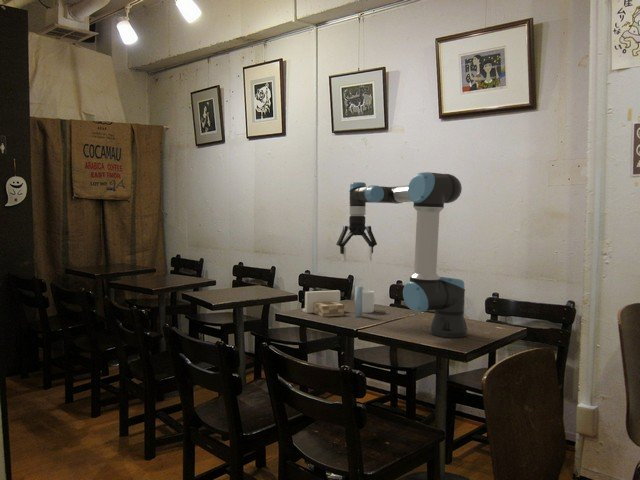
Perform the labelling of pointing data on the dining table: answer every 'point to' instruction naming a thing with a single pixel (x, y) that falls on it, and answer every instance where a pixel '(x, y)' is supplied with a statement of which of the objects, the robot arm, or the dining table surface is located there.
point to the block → (328, 308)
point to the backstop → (320, 298)
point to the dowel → (358, 301)
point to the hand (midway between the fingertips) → (356, 260)
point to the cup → (367, 301)
